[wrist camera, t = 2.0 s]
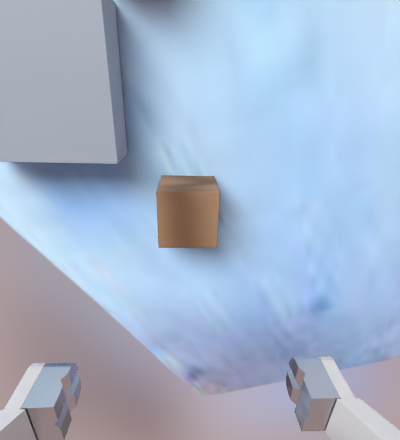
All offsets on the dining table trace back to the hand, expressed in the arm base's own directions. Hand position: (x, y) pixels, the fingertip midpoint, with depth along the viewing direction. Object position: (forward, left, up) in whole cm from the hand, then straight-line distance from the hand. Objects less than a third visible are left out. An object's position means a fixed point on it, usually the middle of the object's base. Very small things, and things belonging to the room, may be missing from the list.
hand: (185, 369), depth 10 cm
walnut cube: (0, 0, -18) cm, 18 cm away
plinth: (+11, -10, -18) cm, 23 cm away
